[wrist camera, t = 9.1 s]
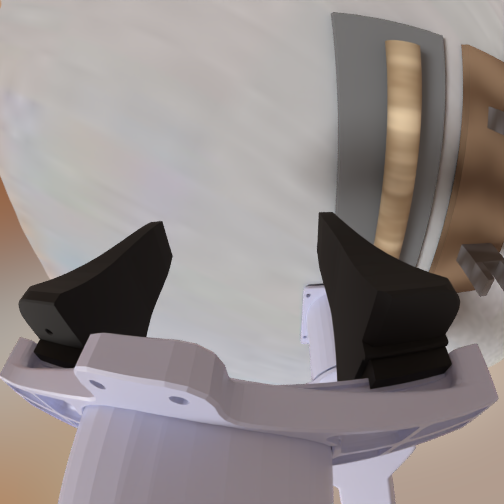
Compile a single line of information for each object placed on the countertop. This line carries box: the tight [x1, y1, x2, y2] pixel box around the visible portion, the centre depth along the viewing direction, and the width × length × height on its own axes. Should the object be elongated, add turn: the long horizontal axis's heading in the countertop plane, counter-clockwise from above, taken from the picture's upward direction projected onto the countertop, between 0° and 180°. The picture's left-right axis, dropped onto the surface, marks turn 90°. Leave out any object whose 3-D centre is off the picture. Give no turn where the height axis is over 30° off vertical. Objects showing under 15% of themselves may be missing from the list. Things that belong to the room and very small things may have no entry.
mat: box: [331, 12, 445, 267], centre depth 19 cm, size 26×9×1 cm, turn 5°
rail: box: [374, 40, 422, 259], centre depth 18 cm, size 22×2×2 cm, turn 5°
